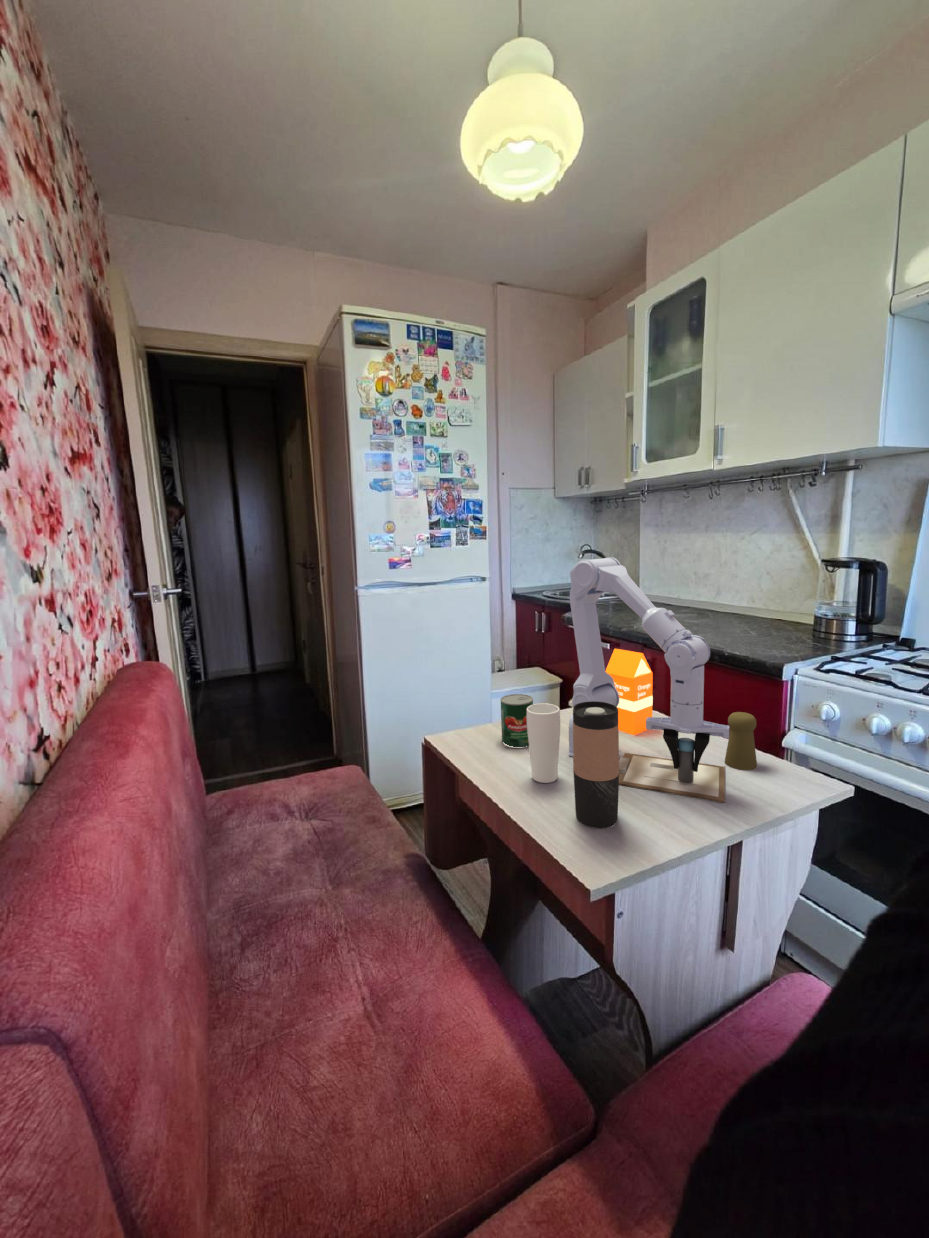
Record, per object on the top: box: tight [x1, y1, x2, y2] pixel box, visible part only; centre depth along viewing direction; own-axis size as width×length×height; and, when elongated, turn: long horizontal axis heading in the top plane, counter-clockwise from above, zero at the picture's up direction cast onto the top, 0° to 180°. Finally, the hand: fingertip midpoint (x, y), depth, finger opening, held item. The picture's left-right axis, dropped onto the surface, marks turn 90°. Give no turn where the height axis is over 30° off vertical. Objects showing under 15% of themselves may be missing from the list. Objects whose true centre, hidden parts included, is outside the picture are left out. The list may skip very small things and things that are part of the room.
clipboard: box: [619, 752, 726, 803], centre depth 103 cm, size 20×15×1 cm
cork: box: [724, 711, 758, 771], centre depth 106 cm, size 6×6×11 cm
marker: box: [678, 737, 695, 783], centre depth 98 cm, size 3×3×8 cm
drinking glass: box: [526, 702, 561, 784], centre depth 104 cm, size 7×7×15 cm
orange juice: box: [605, 648, 654, 736], centre depth 129 cm, size 8×9×20 cm
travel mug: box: [572, 701, 620, 830], centre depth 88 cm, size 8×8×20 cm
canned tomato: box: [500, 693, 534, 748], centre depth 123 cm, size 8×8×11 cm
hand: (685, 768), depth 98 cm, fingers closed on marker, 3 cm apart
